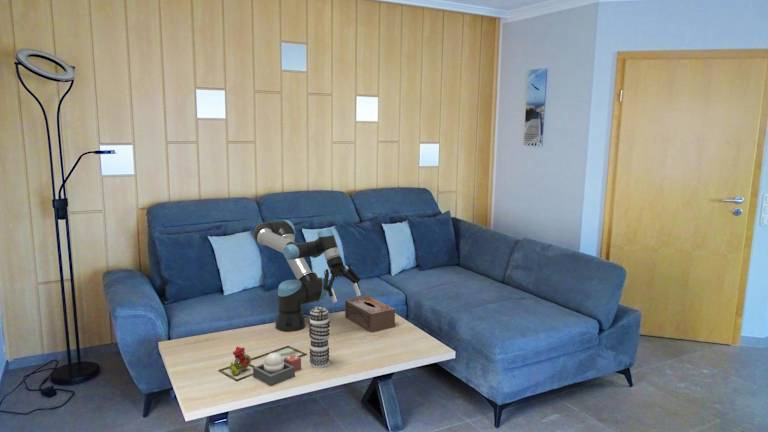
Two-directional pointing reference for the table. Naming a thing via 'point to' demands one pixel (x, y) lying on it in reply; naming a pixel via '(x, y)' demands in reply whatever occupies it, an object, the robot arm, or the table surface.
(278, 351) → the frame
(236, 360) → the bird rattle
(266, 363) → the dome
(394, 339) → the table surface
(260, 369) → the dome housing
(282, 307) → the robot arm
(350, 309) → the tissue box cover
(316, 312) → the decorative candle
